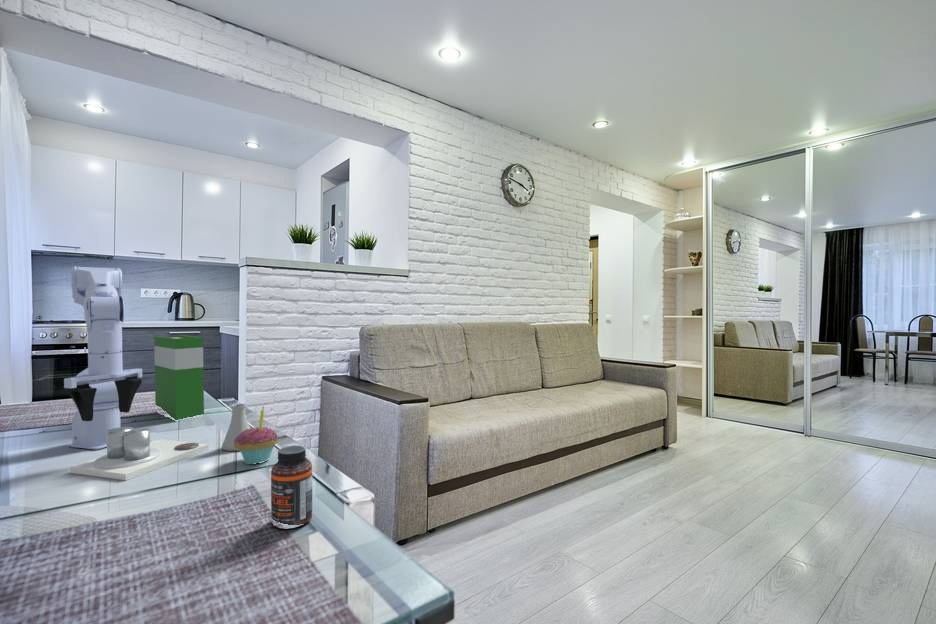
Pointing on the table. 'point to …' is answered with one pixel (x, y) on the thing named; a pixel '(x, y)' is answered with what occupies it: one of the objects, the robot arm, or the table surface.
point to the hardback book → (179, 375)
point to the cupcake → (256, 442)
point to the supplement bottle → (291, 487)
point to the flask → (235, 426)
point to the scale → (125, 470)
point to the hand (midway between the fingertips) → (106, 416)
